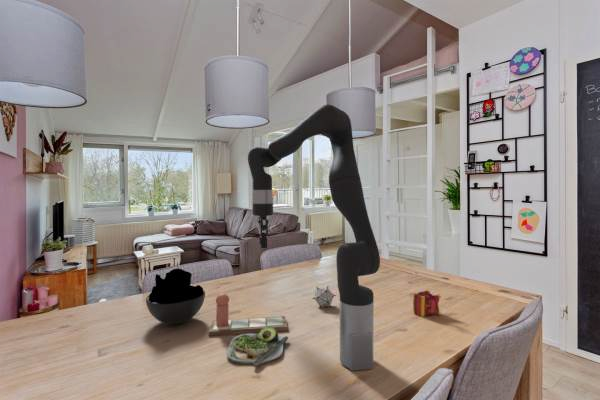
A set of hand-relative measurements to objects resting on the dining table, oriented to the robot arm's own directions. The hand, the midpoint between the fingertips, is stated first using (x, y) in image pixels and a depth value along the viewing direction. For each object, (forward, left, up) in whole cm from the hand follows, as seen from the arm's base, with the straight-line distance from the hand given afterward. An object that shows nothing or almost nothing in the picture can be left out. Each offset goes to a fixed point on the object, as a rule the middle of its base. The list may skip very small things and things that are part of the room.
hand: (263, 246), depth 121 cm
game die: (+8, -24, -27) cm, 38 cm away
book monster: (-8, -61, -27) cm, 68 cm away
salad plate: (-23, +3, -28) cm, 36 cm away
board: (-8, +6, -27) cm, 29 cm away
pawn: (-8, +15, -25) cm, 30 cm away
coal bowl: (+1, +32, -27) cm, 42 cm away
